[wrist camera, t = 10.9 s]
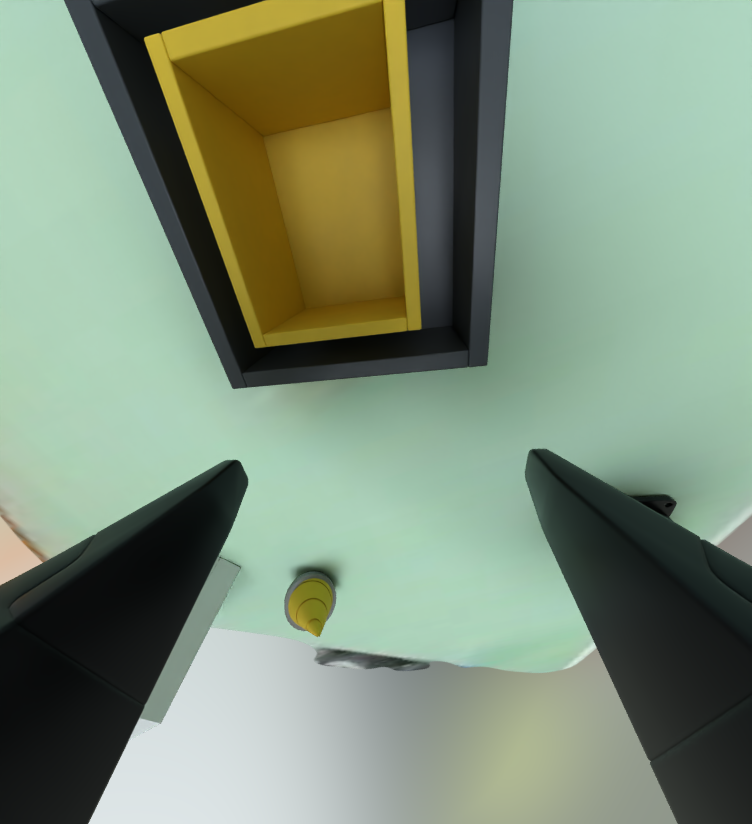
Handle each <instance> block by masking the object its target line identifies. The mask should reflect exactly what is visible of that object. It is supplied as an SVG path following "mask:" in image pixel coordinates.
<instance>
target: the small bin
mask: <svg viewBox="0 0 752 824" xmlns="http://www.w3.org/2000/svg"><path fill="white" fill-rule="evenodd" d="M144 41H145V44H146V47H147V49H148V52H149V55H150V58H151V61H152V63H153V66H154V69H155V72H156V74H157V77H158V80H159V83H160V86H161V88H162V91H163V94H164V97H165V99H166V102H167V105H168V108H169V110H170V113H171V116H172V119H173V122H174V124H175V127H176V130H177V133H178V135H179V138H180V141H181V144H182V147H183V149H184V152H185V155H186V158H187V160H188V163H189V166H190V169H191V172H192V174H193V177H194V180H195V183H196V185H197V188H198V191H199V194H200V196H201V199H202V202H203V205H204V208H205V210H206V213H207V216H208V219H209V221H210V224H211V227H212V230H213V233H214V235H215V238H216V241H217V244H218V246H219V249H220V252H221V255H222V258H223V260H224V263H225V266H226V269H227V271H228V274H229V277H230V280H231V282H232V285H233V288H234V291H235V294H236V296H237V299H238V302H239V305H240V307H241V310H242V313H243V316H244V319H245V321H246V324H247V327H248V330H249V332H250V335H251V338H252V341H253V344H254V346H255V348H262V347H267V346H268V347H270V346H279V345H288V344H297V343H306V342H314V341H323V340H332V339H341V338H350V337H358V336H367V335H376V334H385V333H394V332H402V331H407V329H408V330H409V331H411V330H420V329H421V308H420V288H419V269H418V249H417V229H416V210H415V190H414V170H413V150H412V131H411V111H410V91H409V72H408V52H407V32H406V12H405V0H265V1H262V2H259V3H255V4H252V5H249V6H245V7H242V8H239V9H236V10H232V11H229V12H226V13H222V14H219V15H216V16H213V17H209V18H206V19H203V20H199V21H196V22H193V23H190V24H186V25H183V26H180V27H176V28H173V29H170V30H166V31H163V32H162V33H161V34H160V33H157V34H154V35H150V36H147V37H145V38H144Z"/></svg>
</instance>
